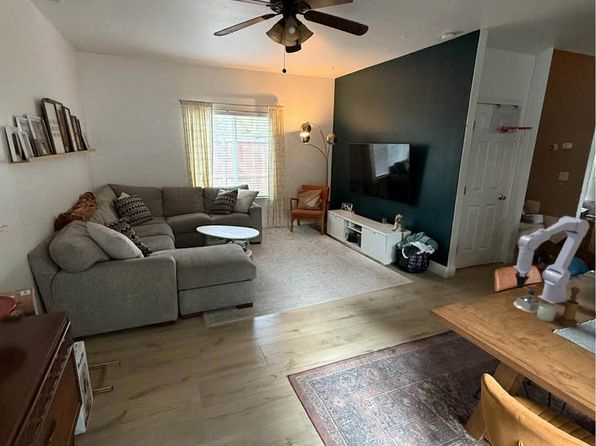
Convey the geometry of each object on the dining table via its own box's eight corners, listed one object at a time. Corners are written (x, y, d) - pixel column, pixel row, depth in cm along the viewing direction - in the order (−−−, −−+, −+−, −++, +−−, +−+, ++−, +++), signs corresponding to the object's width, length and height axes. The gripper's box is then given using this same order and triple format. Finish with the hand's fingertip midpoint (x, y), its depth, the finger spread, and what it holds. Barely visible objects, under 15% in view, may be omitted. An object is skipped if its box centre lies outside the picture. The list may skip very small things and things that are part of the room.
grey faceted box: (522, 300, 160) (523, 293, 159) (540, 309, 151) (541, 302, 150) (511, 301, 158) (513, 295, 157) (529, 311, 150) (530, 304, 149)
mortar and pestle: (580, 328, 136) (589, 291, 131) (563, 327, 137) (572, 290, 133) (570, 320, 142) (579, 284, 138) (554, 319, 143) (562, 283, 139)
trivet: (525, 299, 161) (525, 299, 161) (549, 311, 150) (549, 311, 150) (507, 302, 158) (507, 302, 158) (530, 315, 147) (530, 314, 147)
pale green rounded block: (543, 314, 148) (546, 302, 146) (557, 321, 142) (560, 309, 140) (533, 315, 146) (535, 304, 145) (546, 323, 140) (549, 311, 139)
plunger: (528, 297, 156) (530, 287, 154) (538, 302, 151) (540, 291, 150) (520, 299, 155) (522, 288, 153) (530, 303, 150) (532, 292, 149)
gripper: (515, 254, 160) (511, 278, 164) (514, 262, 149) (509, 288, 153) (532, 256, 156) (527, 281, 160) (532, 265, 145) (527, 292, 149)
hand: (520, 285), depth 156 cm, fingers open, 7 cm apart
